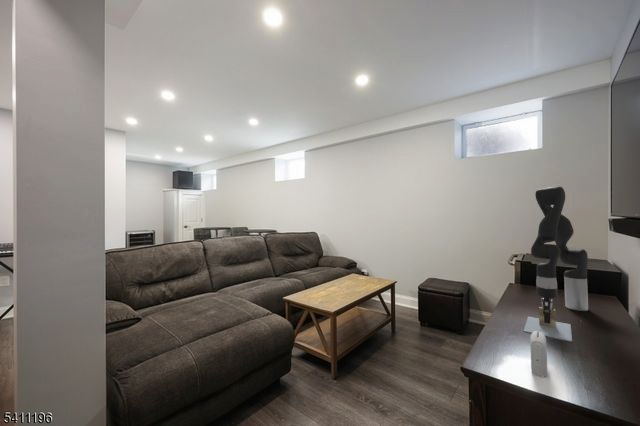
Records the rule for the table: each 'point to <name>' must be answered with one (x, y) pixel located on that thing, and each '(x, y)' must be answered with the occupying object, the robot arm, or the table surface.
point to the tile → (552, 318)
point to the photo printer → (538, 353)
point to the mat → (549, 329)
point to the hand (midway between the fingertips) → (547, 320)
